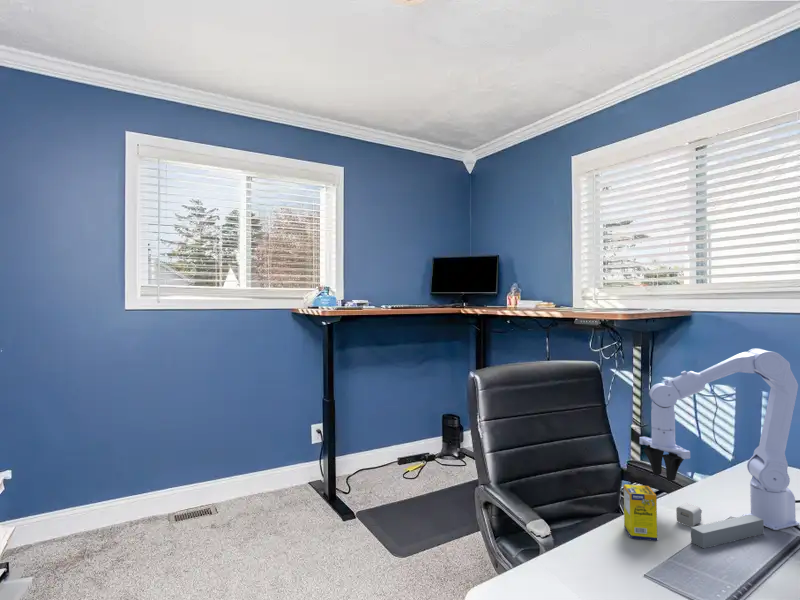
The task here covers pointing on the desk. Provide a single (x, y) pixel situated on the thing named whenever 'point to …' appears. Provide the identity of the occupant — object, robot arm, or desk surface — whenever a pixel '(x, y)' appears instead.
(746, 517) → the slate rail
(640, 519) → the supplement box
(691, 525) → the usb wall charger
